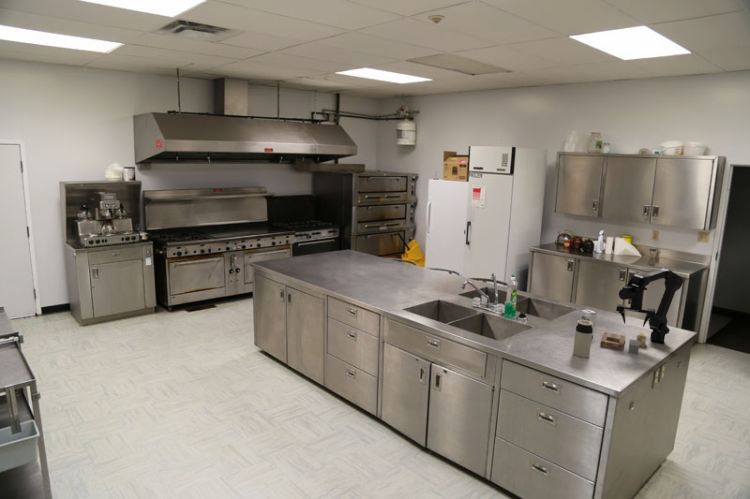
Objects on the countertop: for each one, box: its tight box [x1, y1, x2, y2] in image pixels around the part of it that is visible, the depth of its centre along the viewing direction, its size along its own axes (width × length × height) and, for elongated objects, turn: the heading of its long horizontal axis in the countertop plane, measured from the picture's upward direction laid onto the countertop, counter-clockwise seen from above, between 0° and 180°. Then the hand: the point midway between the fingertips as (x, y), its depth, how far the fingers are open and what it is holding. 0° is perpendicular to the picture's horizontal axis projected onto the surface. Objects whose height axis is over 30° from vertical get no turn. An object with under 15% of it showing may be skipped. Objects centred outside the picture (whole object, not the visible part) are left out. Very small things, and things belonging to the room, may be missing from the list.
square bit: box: [636, 332, 648, 348], centre depth 272 cm, size 4×4×6 cm
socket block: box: [599, 331, 626, 352], centre depth 273 cm, size 11×17×3 cm, turn 149°
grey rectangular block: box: [627, 338, 640, 356], centre depth 263 cm, size 4×9×5 cm, turn 152°
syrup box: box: [580, 309, 597, 337], centre depth 283 cm, size 6×6×14 cm
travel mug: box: [572, 319, 593, 359], centre depth 254 cm, size 8×8×18 cm
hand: (633, 325), depth 270 cm, fingers open, 9 cm apart
